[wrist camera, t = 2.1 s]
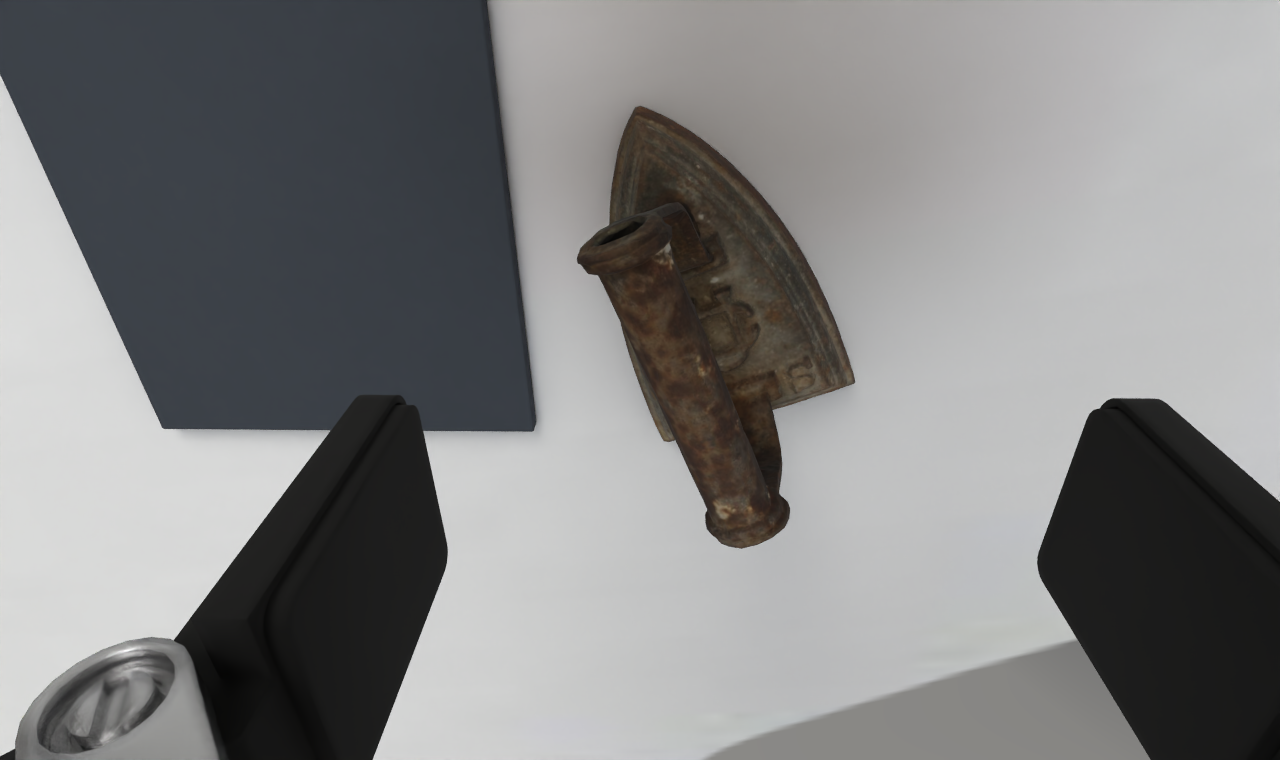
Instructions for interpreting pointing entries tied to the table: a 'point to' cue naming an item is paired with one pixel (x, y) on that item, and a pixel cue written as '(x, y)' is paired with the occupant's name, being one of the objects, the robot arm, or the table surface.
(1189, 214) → the table surface
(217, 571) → the table surface
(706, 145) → the clothes iron
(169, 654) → the robot arm
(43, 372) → the table surface
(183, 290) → the iron rest mat
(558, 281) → the table surface
